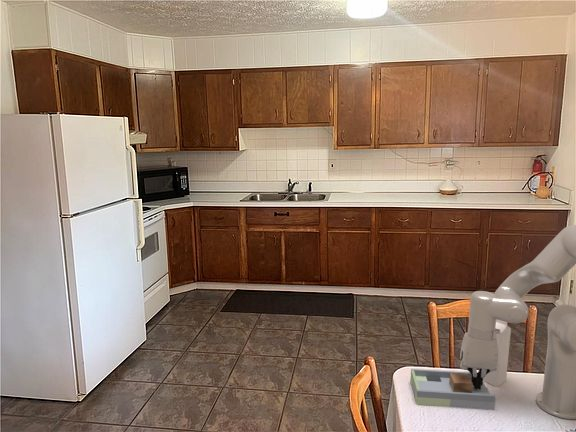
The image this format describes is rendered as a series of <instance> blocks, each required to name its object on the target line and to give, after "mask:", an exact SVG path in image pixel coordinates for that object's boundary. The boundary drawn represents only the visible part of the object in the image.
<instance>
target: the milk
mask: <svg viewBox="0 0 576 432" xmlns="http://www.w3.org/2000/svg"><path fill="white" fill-rule="evenodd" d="M496 329H500V334H496V338H497V345H498V365H497V371H494V372H489V373H488V374H487V375H485V377H484V378H483V382H484V383H485V382H486V383H488V384H490V385H492V386H494V387H495V388H497V387H499V386H500V385H502V384H504V383H505V382H507V375H508V366H509V365H508V364H509V356H510V355H509V354H510V345H511V344H510V343H511V342H510V341H511V335H512V333H511V332H512V327H510V326H508V322H505V321H501V320H497V319H496Z"/></svg>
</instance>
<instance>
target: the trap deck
mask: <svg viewBox="0 0 576 432" xmlns="http://www.w3.org/2000/svg"><path fill="white" fill-rule="evenodd" d="M450 373H456V374H468V375H469V377H470V379H471V378H472V374H471V373H470V372H469V371H452V370H438V369H437V370H435V369H421V368H420V369H419V368H410V385H411V387H412V388H411V389H412V392H413V397H414V400H415V403H416V405H418V406H431V407H449V408H460V409H472V410H473V409H477V410H490V411H495V405H496V395H495V394H491V392H490V391H489V389H488V388H487V386H486V385H485V381H483V386H481V390H480V389H475V388H474V386H473V388H472V393H461V392H453V391H452V389H451V386H450V384H449V379H450Z"/></svg>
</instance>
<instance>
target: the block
mask: <svg viewBox="0 0 576 432" xmlns="http://www.w3.org/2000/svg"><path fill="white" fill-rule="evenodd" d="M449 384H450V386H451V389H452V391H453V392H461V393H472V388H473V383H472V381H471V379H470V377H469V375H468V374H456V373H450V379H449Z"/></svg>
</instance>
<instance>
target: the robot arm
mask: <svg viewBox="0 0 576 432" xmlns="http://www.w3.org/2000/svg"><path fill="white" fill-rule="evenodd" d="M575 265H576V224H571V225H568V226H566V227H564V228H562V230H561V231H560V232H559V233H558V234H556V236H554V238H553V239H552V240H551V241H550V242H549V243H548V244H547V245H546V246H545V247H544V249H542V251H540V253H539V254H537V256H536V257H535V258H534V259H533V260H532V261H530V262H528V263H527V264H525V265H523V266H522V267H520V268H518V269H517V270H515V271H514V272H512V273H511V274H510V275H509V276H508V277H507V278H506V279H505V280H504V281H503V282H502V283H501V284H500V285H499V286H498V288H497V289H496V290H495V291H494V293H493V292H489V291H486V290H485V291H484V290H476V291H474V292H472V293H471V295H470V302H469V315H468V325H467V326H468V328H467V332H465V333H464V336H463V338H462V341H461V347H460V354H459V356H460V357H459V358H460V361H461V362H460V364H459V366H460V367H459V368H460V369H461V370H464V371H467V372H470V373H471V374H472V378H471V381H472V383H473V386H474V388H475V389H480V390H481V386H483V382H484V381H483V378H484V377H485V375H487V374H488V373H489V372H494V371H497V365H498V345H497V338H496V334H500V329H496V319H497V320H501V321H505V322H507V323H510V324H521V323H523V322H525V321H526V320H527V319H528V318H529V313H530V310H529V307H528V305H527V304H526V302H525V301H524V300H523V299H524V297H526V295H527V294H528V293H529V292H530V291H531V290H533V289H534V288H536V287H538V286H540V285H544V284H552V283H558V282H560V281H561V280H562V279H563V278H564V277H565V276H566V274H567V273H568V272H570V270H571V269H572V268H574V267H575ZM546 327H547V348H546V357H545V364H544V365H545V367H544V374H543V375H544V376H543V384H542V385H543V386H542V391H541V392H539V393H537V394H536V396H535V403H536V404H537V406H538V407H539V408H540V409H542V410H543V411H544V412H546V413H548V414H550V415H552V416H554V417H558V418H561V419H565V420H576V306H574V305H572V304H571V305H570V304H567V303H566V304H559V305H557V306H555V307H553V308H552V309H551V311H550V312H549V314H548V317H547V326H546ZM477 369H478V371H477Z"/></svg>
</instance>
